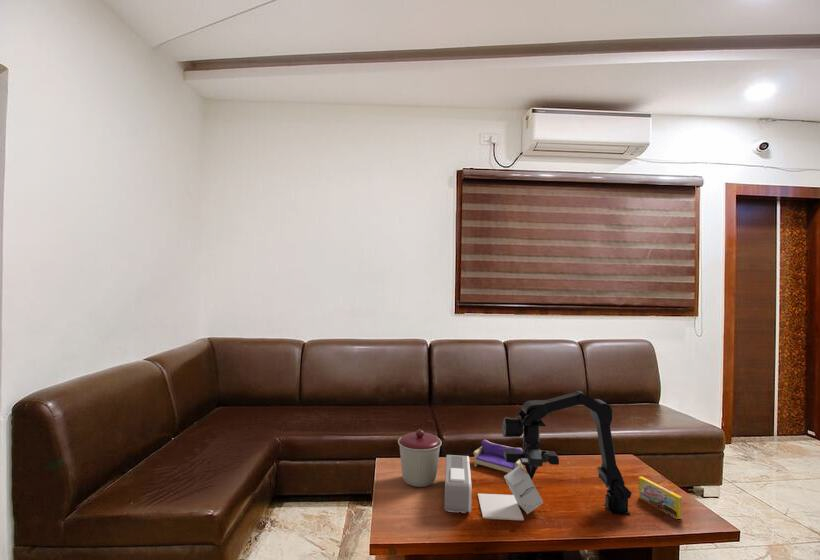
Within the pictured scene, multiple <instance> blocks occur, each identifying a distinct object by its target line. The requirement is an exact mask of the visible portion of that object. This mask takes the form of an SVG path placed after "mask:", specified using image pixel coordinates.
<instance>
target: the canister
mask: <svg viewBox="0 0 820 560" xmlns="http://www.w3.org/2000/svg"><path fill="white" fill-rule="evenodd" d="M397 443H398V445H399V454H400V455H399V456H400V465H401V473H402V474H401V475H402V478H403V481H404V482H405V484H407V485H408V486H412V487H415V488H424V487H428V486H431V485H432V484H433V483H434V482H435V481H436V478H437V472H438V466H439V465H438V463H439V457H440V450H441V447H442V445H443V443H442V439H440V438H439V437H437V436H436V435H434V434H432V433H429V432H424V430H423V429H417V430H415V432H413V431H412V432H409V433H405V434H404V435H402V436H400V437H399V438H398V440H397Z"/></svg>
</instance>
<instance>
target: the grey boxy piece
mask: <svg viewBox="0 0 820 560" xmlns="http://www.w3.org/2000/svg"><path fill="white" fill-rule="evenodd" d="M470 465H471V464H470V456H469V455H458V454H457V455H455V454H446V455H445V472H444V473H445V475H444V476H445V477H444V478H445V479H444V511H445V512H446V511H448V512H450V513H459V512H461V513H462V514H467V512H468V513H471V512H472V477H471V476H472V475H471V466H470Z"/></svg>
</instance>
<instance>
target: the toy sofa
mask: <svg viewBox="0 0 820 560" xmlns="http://www.w3.org/2000/svg"><path fill="white" fill-rule="evenodd" d="M480 442H481V446H480V447H478V448H477V449H475V450H474V451H473V452H472V453H473V455H474V458H473V459H474V460H473V461H474V464H473V465H474V466H473V467H475V468H476V467H478V466H479V465H480V466H484V467H488V468H490V469H494V470H498V471H501V472H504V473H507V474H508V473H509V472H511V471H512V470H514V469H515V468H517V467H518V466H520V467H522V468H523V469H524V465H522V463H521V461H520V459H518V461H517V462H515V463H513V462H506V460H505V457H504V450H505V449H515V451H516V453H523V448H522V447H512V446H507V445H502V444H499V443H498V444H497V443H494V442H490V441H489V440H487V439H483V440H480Z"/></svg>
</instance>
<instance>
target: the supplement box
mask: <svg viewBox="0 0 820 560" xmlns="http://www.w3.org/2000/svg"><path fill="white" fill-rule="evenodd" d="M503 478H504V480H505V481H506V484H507V486H508V487H509V490H510V492H511V494H512V495H514V497H515V499H516V501H517V503H518V505H519V508H521V509H522V511H524V512H525V513H526V515H529V514H530V513H532V512H533V511H534V510H536V509H537V508H538V507H539V506H541V505H543V504H544V501H543V499H542V497H541V496H540V493H539V491H538V490H537V488H536V486H535V484H534V481H533V479H532V480H531V478H530V476H529V474H528V473H527V471H526V469H524V467H523V468H522V467H520V466H518V467H517V468H515V469H514V470H512V471H511V472H509V473H508V472H507V473H506V474H505V475H504V476H503Z"/></svg>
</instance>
